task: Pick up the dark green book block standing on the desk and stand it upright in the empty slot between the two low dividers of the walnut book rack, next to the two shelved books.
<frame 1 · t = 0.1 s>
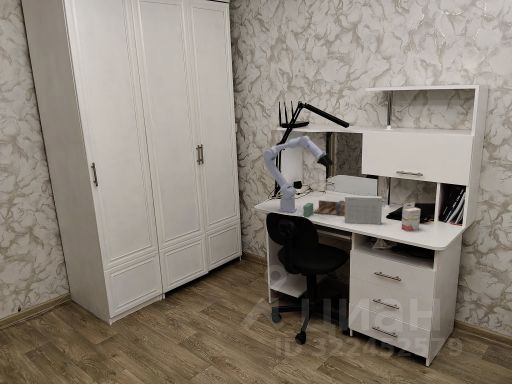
hand: (330, 165, 248), 32 cm above the table, tool tilted 50°, fingers open, 7 cm apart
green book: (308, 215, 257), on the table
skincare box: (362, 222, 239), on the table
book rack: (331, 212, 260), on the table
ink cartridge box: (410, 229, 224), on the table
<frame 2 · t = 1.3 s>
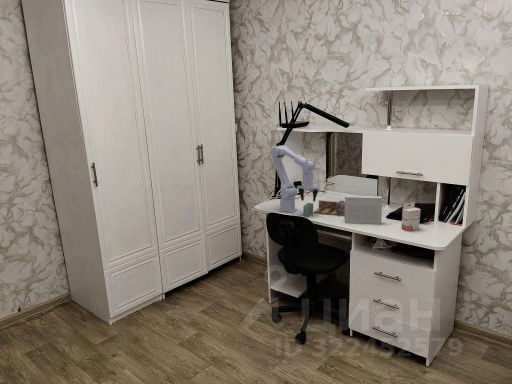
hand: (308, 200, 254), 9 cm above the table, tool pointing down, fingers open, 7 cm apart
nothing on the table moved.
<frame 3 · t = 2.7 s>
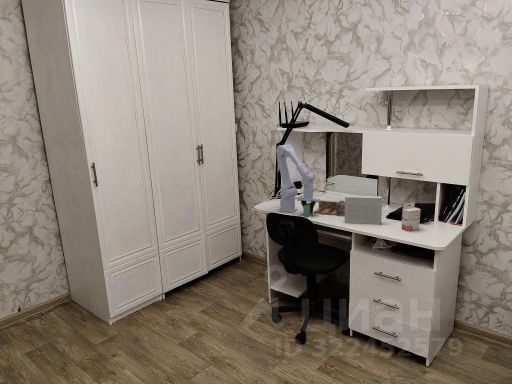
hand: (308, 212, 256), 2 cm above the table, tool pointing down, fingers closed on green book, 3 cm apart
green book: (308, 215, 256), on the table, touching gripper
everything else where it was.
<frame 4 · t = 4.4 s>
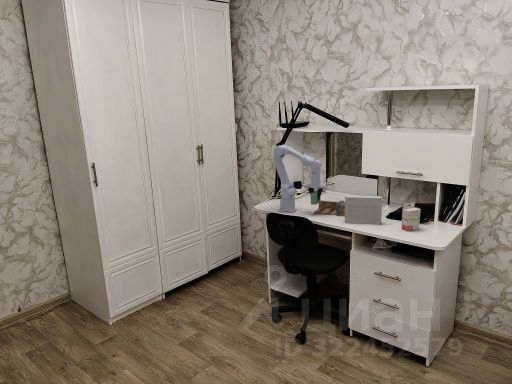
hand: (315, 199, 256), 9 cm above the table, tool pointing down, fingers closed on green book, 3 cm apart
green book: (315, 202, 256), point 7 cm above the table, touching gripper
everything else where it was.
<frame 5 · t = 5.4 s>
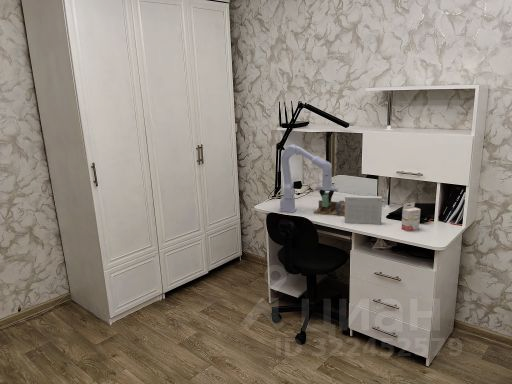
hand: (326, 201, 260), 7 cm above the table, tool pointing down, fingers closed on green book, 3 cm apart
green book: (326, 204, 260), point 5 cm above the table, touching gripper
everything else where it was.
when the fingers open (4 cm above the table, at t = 6.3 s): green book stays where it is, resting on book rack.
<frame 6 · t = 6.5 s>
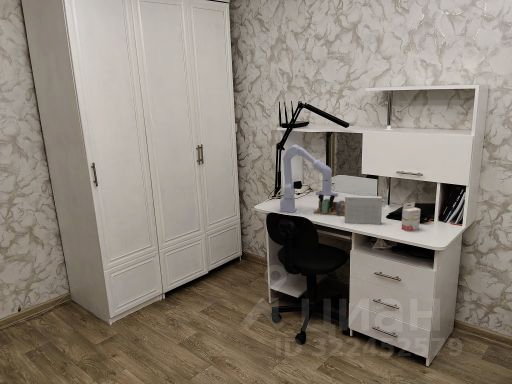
hand: (326, 206, 260), 4 cm above the table, tool pointing down, fingers open, 5 cm apart
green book: (326, 210, 261), point 1 cm above the table, touching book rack
everything else where it was.
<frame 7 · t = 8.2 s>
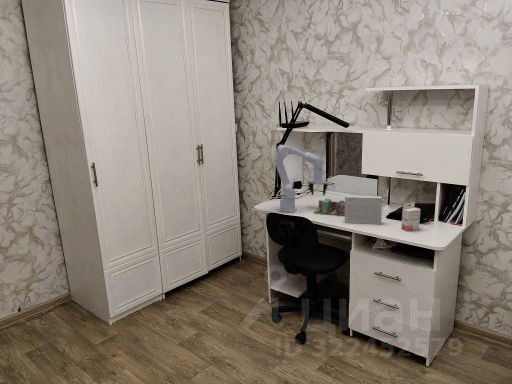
hand: (318, 194, 269), 9 cm above the table, tool pointing down, fingers open, 7 cm apart
nothing on the table moved.
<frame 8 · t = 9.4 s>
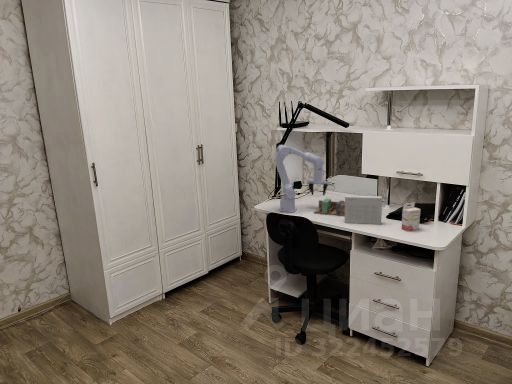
hand: (318, 194, 269), 9 cm above the table, tool pointing down, fingers open, 7 cm apart
nothing on the table moved.
at the end: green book 0.1 cm from the target spot on the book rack, point 1.0 cm above the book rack's base; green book tilted 0°; the gripper is holding nothing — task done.
